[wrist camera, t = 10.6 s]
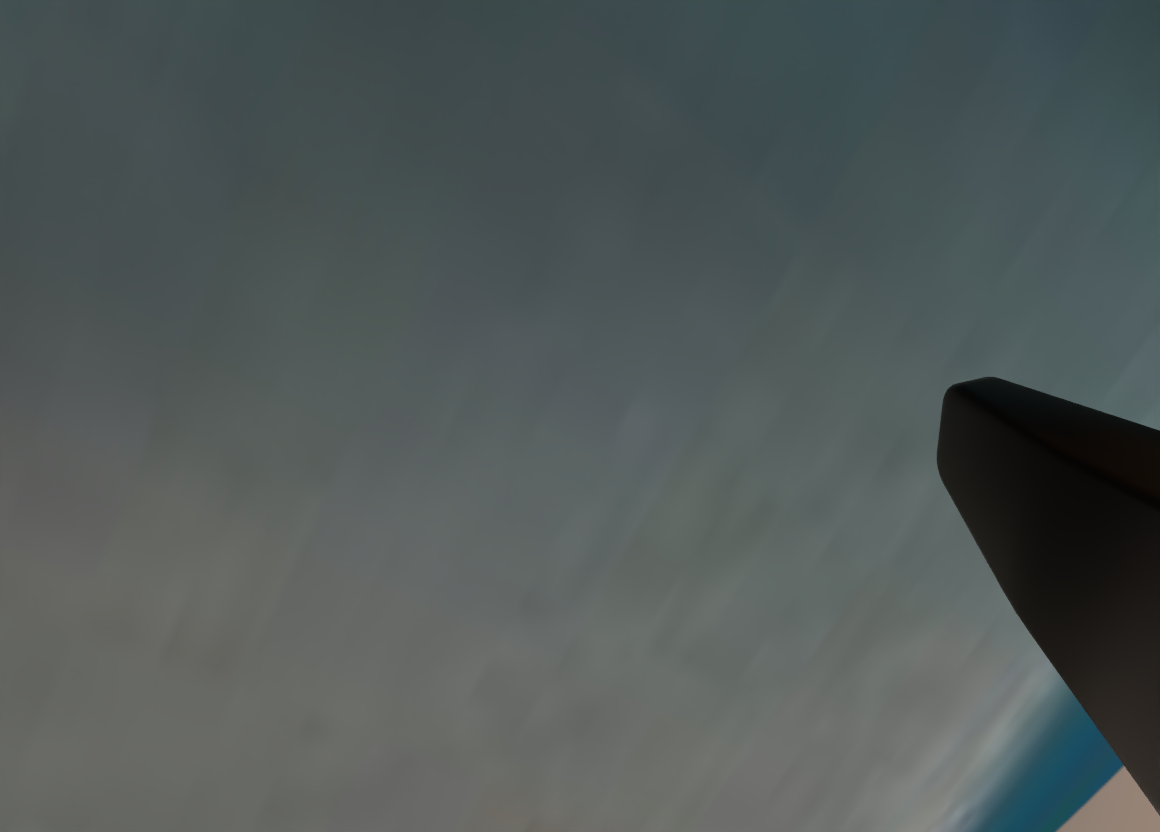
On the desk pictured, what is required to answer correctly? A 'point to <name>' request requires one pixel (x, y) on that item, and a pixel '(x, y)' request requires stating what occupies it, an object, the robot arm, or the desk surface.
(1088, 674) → the robot arm
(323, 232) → the desk surface
